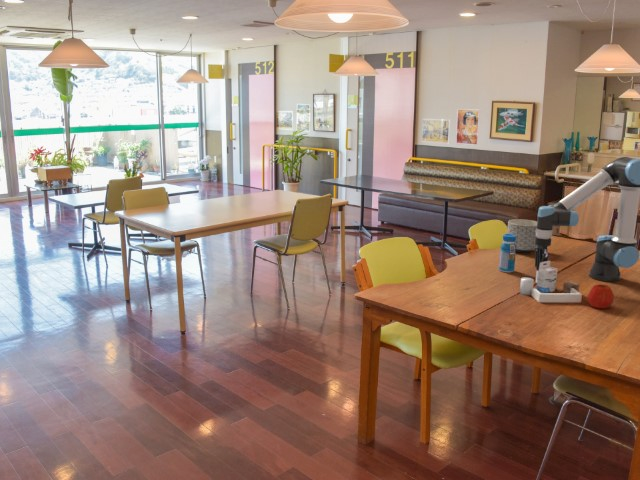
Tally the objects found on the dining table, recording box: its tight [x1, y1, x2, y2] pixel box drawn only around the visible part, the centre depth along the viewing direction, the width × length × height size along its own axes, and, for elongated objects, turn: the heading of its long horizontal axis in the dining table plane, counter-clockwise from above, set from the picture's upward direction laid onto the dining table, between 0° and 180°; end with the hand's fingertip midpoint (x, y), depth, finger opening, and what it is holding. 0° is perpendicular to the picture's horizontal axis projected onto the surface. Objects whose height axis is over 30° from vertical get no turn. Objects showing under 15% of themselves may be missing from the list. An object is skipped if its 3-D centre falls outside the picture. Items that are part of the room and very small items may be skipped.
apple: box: [587, 283, 615, 309], centre depth 278 cm, size 11×11×11 cm
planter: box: [506, 218, 538, 254], centre depth 374 cm, size 19×19×18 cm
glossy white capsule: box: [519, 276, 535, 296], centre depth 296 cm, size 6×6×7 cm
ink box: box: [536, 260, 559, 293], centre depth 298 cm, size 8×5×15 cm, turn 123°
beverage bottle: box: [498, 233, 517, 273], centre depth 331 cm, size 8×8×20 cm
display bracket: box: [531, 287, 583, 303], centre depth 288 cm, size 20×9×4 cm, turn 92°
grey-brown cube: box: [562, 281, 580, 293], centre depth 297 cm, size 5×5×5 cm
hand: (538, 282), depth 309 cm, fingers closed
